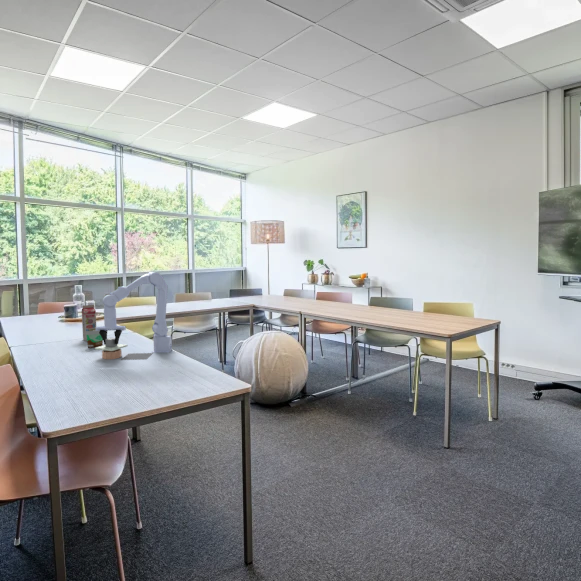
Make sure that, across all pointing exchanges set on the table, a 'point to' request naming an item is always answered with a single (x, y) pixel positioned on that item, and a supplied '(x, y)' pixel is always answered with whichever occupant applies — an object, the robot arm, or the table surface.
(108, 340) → the sheet lid
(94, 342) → the food container
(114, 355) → the tan bowl
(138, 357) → the mat
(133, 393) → the table surface
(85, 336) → the juice carton
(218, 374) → the table surface
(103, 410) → the table surface
